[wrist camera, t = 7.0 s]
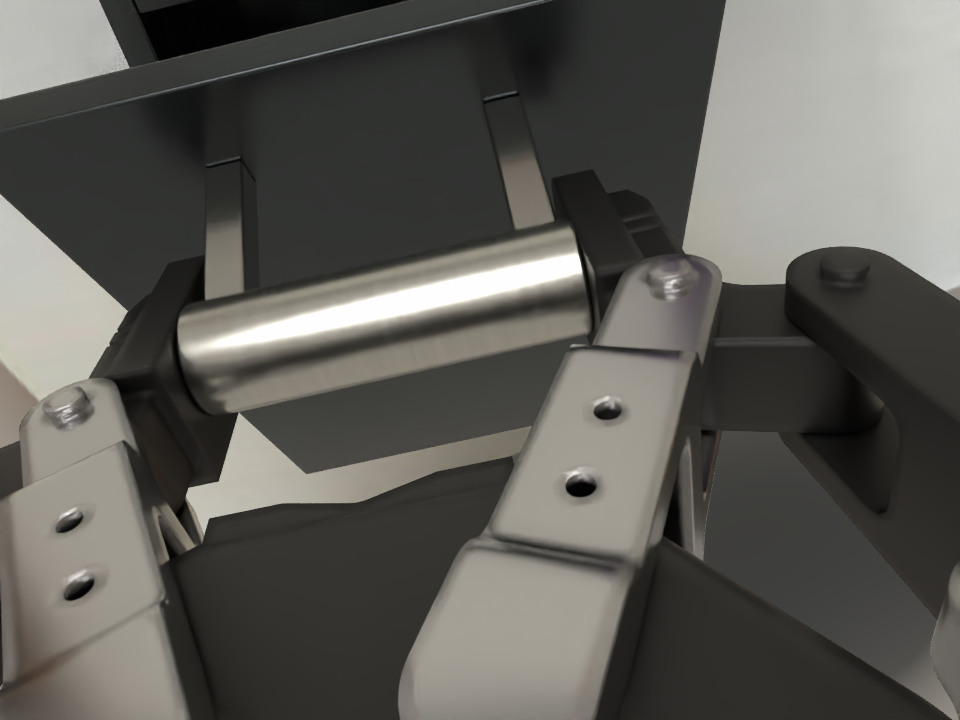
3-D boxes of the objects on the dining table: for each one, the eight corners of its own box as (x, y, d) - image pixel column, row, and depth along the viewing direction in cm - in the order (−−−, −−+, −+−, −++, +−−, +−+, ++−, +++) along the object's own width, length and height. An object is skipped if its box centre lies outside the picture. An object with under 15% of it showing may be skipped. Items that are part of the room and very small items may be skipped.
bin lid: (-48, 109, 12) (-120, 405, 9) (718, -77, 11) (864, 184, 9) (305, 454, 26) (314, 607, 24) (649, 379, 26) (697, 528, 23)
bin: (202, -55, 28) (91, -13, 18) (529, -137, 27) (601, -139, 17) (332, 297, 36) (306, 455, 27) (582, 241, 36) (649, 381, 26)
